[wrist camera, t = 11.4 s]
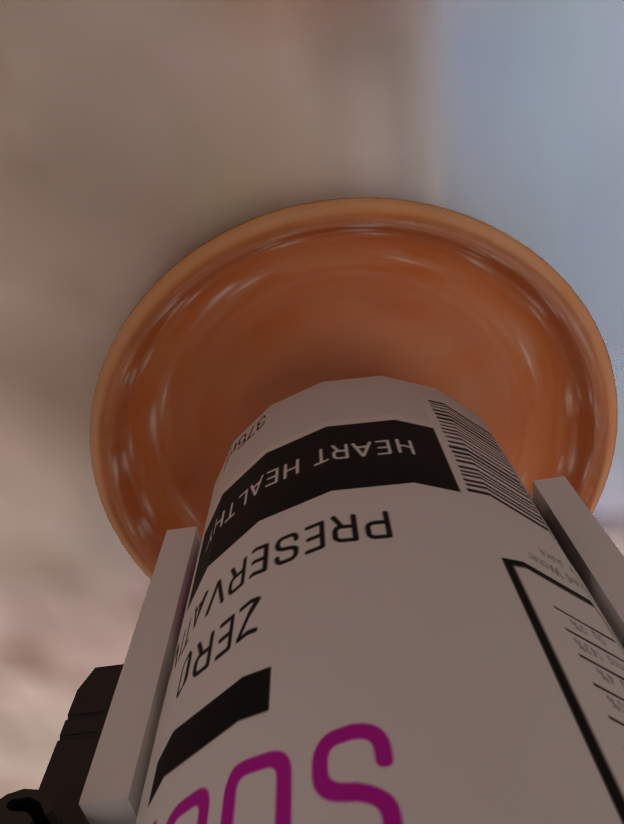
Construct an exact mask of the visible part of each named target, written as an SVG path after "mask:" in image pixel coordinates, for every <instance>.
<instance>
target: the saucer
mask: <svg viewBox="0 0 624 824" xmlns="http://www.w3.org/2000/svg"><path fill="white" fill-rule="evenodd" d="M372 376H385V377H389V378H394V379H398V380H403V381H407V382H412V383H416V384H420V385H425V386H429V387H434V388H437V389H438V390H440V391H441V392H443V393H444V394H446V395H448V396H449V397H451V398H452V399H454V400H455V401H457V402H458V403H460V404H461V405H463V406H465V407H466V408H468V409H469V410H471V411H472V412H474V413H475V414H477V415H478V416H480V417H481V419H482V420H483V422H484V423H485V425H486V426H487V428H488V429H489V431H490V432H491V434H492V435H493V437H494V438H495V440H496V441H497V443H498V444H499V445H500V447H501V448H502V450H503V451H504V453H505V454H506V456H507V457H508V459H509V461H510V462H511V464H512V466H513V467H514V469H515V471H516V472H517V474H518V476H519V477H520V479H521V480H522V482H523V484H524V485H525V487H526V489H527V490H528V492H529V494H530V495H531V497H532V494H533V480H541V479H548V478H555V477H563V476H565V478H566V479H567V480H568V482H569V483H570V484H571V486H572V487H573V488H574V490H575V491H576V492H577V494H578V495H579V497H580V498H581V499H582V501H583V502H584V503H585V505H586V506H587V507H588V509H589V510H590V512H591V513H593V511H594V509H595V507H596V505H597V503H598V500H599V498H600V496H601V494H602V491H603V489H604V486H605V483H606V480H607V477H608V474H609V471H610V467H611V463H612V459H613V455H614V450H615V443H616V436H617V415H618V408H617V393H616V385H615V379H614V374H613V370H612V365H611V361H610V357H609V354H608V351H607V348H606V346H605V343H604V341H603V338H602V336H601V334H600V332H599V330H598V328H597V326H596V324H595V322H594V320H593V318H592V317H591V315H590V313H589V311H588V310H587V308H586V307H585V305H584V304H583V302H582V301H581V299H580V298H579V297H578V296H577V294H576V293H575V292H574V290H573V289H572V288H571V286H570V285H569V284H568V283H567V282H566V281H565V280H564V279H563V278H562V277H561V276H560V275H559V274H558V273H557V271H555V270H554V269H553V268H552V267H551V266H550V265H549V264H548V263H547V262H546V261H544V260H543V259H542V258H541V257H540V256H538V255H537V254H536V253H534V252H533V251H532V250H530V249H529V248H528V247H526V246H525V245H523V244H522V243H520V242H519V241H517V240H515V239H514V238H512V237H510V236H509V235H507V234H505V233H504V232H502V231H500V230H498V229H496V228H494V227H492V226H490V225H488V224H486V223H484V222H482V221H479V220H477V219H474V218H472V217H469V216H467V215H464V214H461V213H458V212H455V211H452V210H448V209H445V208H441V207H438V206H434V205H430V204H424V203H419V202H413V201H407V200H399V199H389V198H343V199H333V200H323V201H317V202H311V203H306V204H300V205H296V206H292V207H288V208H284V209H281V210H278V211H275V212H272V213H269V214H266V215H262V216H259V217H257V218H254V219H252V220H250V221H248V222H245V223H243V224H241V225H239V226H236V227H234V228H232V229H230V230H228V231H226V232H224V233H222V234H221V235H219V236H217V237H216V238H214V239H212V240H210V241H209V242H207V243H205V244H204V245H202V246H201V247H199V248H198V249H196V250H195V251H193V252H192V253H191V254H189V255H188V256H186V257H185V258H184V259H182V260H181V261H180V262H179V263H178V264H177V265H175V266H174V267H173V268H172V269H171V270H169V271H168V272H167V273H166V274H165V275H164V276H163V277H162V278H161V279H160V280H158V281H157V283H156V284H155V285H154V286H153V287H152V288H151V289H150V290H149V291H148V292H147V293H146V295H145V296H144V297H143V298H142V300H141V301H140V302H139V304H138V305H137V306H136V307H135V309H134V310H133V311H132V313H131V314H130V316H129V317H128V319H127V320H126V321H125V323H124V324H123V326H122V327H121V329H120V331H119V333H118V335H117V337H116V338H115V340H114V342H113V344H112V346H111V348H110V350H109V352H108V355H107V357H106V359H105V361H104V364H103V367H102V370H101V372H100V376H99V379H98V383H97V386H96V390H95V394H94V400H93V405H92V412H91V421H90V447H91V458H92V466H93V471H94V476H95V481H96V485H97V488H98V492H99V495H100V498H101V502H102V504H103V506H104V509H105V511H106V514H107V516H108V519H109V521H110V523H111V525H112V527H113V529H114V530H115V532H116V534H117V536H118V537H119V539H120V541H121V542H122V544H123V545H124V547H125V549H126V550H127V551H128V553H129V554H130V555H131V557H132V558H133V560H134V561H135V562H136V563H137V565H138V566H139V567H140V568H141V569H142V571H143V572H144V573H145V574H146V575H147V576H148V577H149V578H150V579H151V578H152V575H153V572H154V569H155V566H156V563H157V560H158V557H159V554H160V551H161V547H162V544H163V541H164V538H165V535H166V532H167V530H173V529H180V528H188V527H195V526H197V528H198V532H199V535H200V538H201V541H202V537H203V533H204V529H205V524H206V520H207V516H208V511H209V507H210V503H211V499H212V494H213V490H214V486H215V483H216V481H217V478H218V476H219V474H220V472H221V469H222V467H223V465H224V463H225V460H226V458H227V456H228V453H229V451H230V449H231V447H232V444H233V442H234V441H235V440H236V439H237V438H238V437H239V436H240V435H241V434H242V433H243V432H244V431H245V430H246V429H247V428H248V427H249V426H250V425H251V424H252V423H253V422H254V421H255V420H256V419H257V418H258V417H259V416H260V415H262V414H263V413H264V412H265V411H266V410H267V409H268V408H269V407H270V406H271V405H273V404H275V403H277V402H279V401H281V400H284V399H286V398H288V397H290V396H292V395H295V394H297V393H299V392H301V391H303V390H306V389H308V388H310V387H312V386H314V385H316V384H319V383H321V382H325V381H334V380H344V379H353V378H363V377H372Z"/></svg>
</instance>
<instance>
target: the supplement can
mask: <svg viewBox="0 0 624 824" xmlns="http://www.w3.org/2000/svg"><path fill="white" fill-rule="evenodd" d="M135 824H624V648H623V646H622V645H621V643H620V641H619V640H618V638H617V636H616V635H615V633H614V631H613V630H612V628H611V626H610V625H609V623H608V622H607V620H606V618H605V617H604V615H603V613H602V612H601V610H600V608H599V607H598V605H597V603H596V602H595V600H594V599H593V597H592V595H591V594H590V592H589V590H588V589H587V587H586V585H585V584H584V582H583V581H582V579H581V577H580V576H579V574H578V572H577V571H576V569H575V567H574V566H573V564H572V562H571V561H570V559H569V558H568V556H567V554H566V553H565V551H564V549H563V548H562V546H561V544H560V543H559V541H558V540H557V538H556V536H555V535H554V533H553V531H552V530H551V528H550V526H549V525H548V523H547V521H546V520H545V518H544V517H543V515H542V513H541V512H540V510H539V508H538V507H537V505H536V503H535V502H534V500H533V498H532V497H531V495H530V494H529V492H528V490H527V489H526V487H525V485H524V484H523V482H522V480H521V479H520V477H519V476H518V474H517V472H516V471H515V469H514V467H513V466H512V464H511V462H510V461H509V459H508V457H507V456H506V454H505V453H504V451H503V450H502V448H501V447H500V445H499V444H498V443H497V441H496V440H495V438H494V437H493V435H492V434H491V432H490V431H489V429H488V428H487V426H486V425H485V423H484V422H483V420H482V419H481V417H480V416H478V415H477V414H475V413H474V412H472V411H471V410H469V409H468V408H466V407H465V406H463V405H461V404H460V403H458V402H457V401H455V400H454V399H452V398H451V397H449V396H448V395H446V394H444V393H443V392H441V391H440V390H438V389H437V388H434V387H429V386H425V385H420V384H416V383H412V382H407V381H403V380H398V379H394V378H389V377H385V376H372V377H363V378H353V379H344V380H334V381H325V382H321V383H319V384H316V385H314V386H312V387H310V388H308V389H306V390H303V391H301V392H299V393H297V394H295V395H292V396H290V397H288V398H286V399H284V400H281V401H279V402H277V403H275V404H273V405H271V406H270V407H269V408H268V409H267V410H266V411H265V412H264V413H263V414H262V415H260V416H259V417H258V418H257V419H256V420H255V421H254V422H253V423H252V424H251V425H250V426H249V427H248V428H247V429H246V430H245V431H244V432H243V433H242V434H241V435H240V436H239V437H238V438H237V439H236V440H235V441H234V442H233V444H232V447H231V449H230V451H229V453H228V456H227V458H226V460H225V463H224V465H223V467H222V469H221V472H220V474H219V476H218V478H217V481H216V483H215V486H214V490H213V494H212V499H211V503H210V507H209V511H208V516H207V520H206V524H205V529H204V533H203V537H202V541H201V546H200V550H199V554H198V558H197V563H196V567H195V571H194V575H193V580H192V584H191V588H190V592H189V597H188V601H187V605H186V610H185V614H184V618H183V622H182V627H181V631H180V635H179V639H178V644H177V648H176V652H175V656H174V661H173V665H172V669H171V674H170V678H169V682H168V686H167V691H166V695H165V699H164V703H163V708H162V712H161V716H160V720H159V725H158V729H157V733H156V738H155V742H154V746H153V750H152V755H151V759H150V763H149V767H148V772H147V776H146V780H145V784H144V789H143V793H142V797H141V801H140V806H139V810H138V814H137V819H136V823H135Z"/></svg>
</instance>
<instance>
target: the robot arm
mask: <svg viewBox="0 0 624 824" xmlns="http://www.w3.org/2000/svg"><path fill="white" fill-rule="evenodd" d="M532 498H533V500H534V502H535V503H536V505H537V507H538V508H539V510H540V512H541V513H542V515H543V517H544V518H545V520H546V521H547V523H548V525H549V526H550V528H551V530H552V531H553V533H554V535H555V536H556V538H557V540H558V541H559V543H560V544H561V546H562V548H563V549H564V551H565V553H566V554H567V556H568V558H569V559H570V561H571V562H572V564H573V566H574V567H575V569H576V571H577V572H578V574H579V576H580V577H581V579H582V581H583V582H584V584H585V585H586V587H587V589H588V590H589V592H590V594H591V595H592V597H593V599H594V600H595V602H596V603H597V605H598V607H599V608H600V610H601V612H602V613H603V615H604V617H605V618H606V620H607V622H608V623H609V625H610V626H611V628H612V630H613V631H614V633H615V635H616V636H617V638H618V640H619V641H620V643H621V645H622V646H623V648H624V556H623V555H622V554H621V552H620V551H619V550H618V548H617V547H616V545H615V544H614V543H613V541H612V540H611V539H610V537H609V536H608V535H607V533H606V532H605V531H604V529H603V528H602V526H601V525H600V524H599V522H598V521H597V520H596V518H595V517H594V516H593V514H592V513H591V512H590V510H589V509H588V507H587V506H586V505H585V503H584V502H583V501H582V499H581V498H580V497H579V495H578V494H577V492H576V491H575V490H574V488H573V487H572V486H571V484H570V483H569V482H568V480H567V479H566V478H565V476H563V477H555V478H548V479H541V480H533V494H532ZM200 546H201V538H200V535H199V532H198V528H197V526H195V527H188V528H180V529H173V530H167V532H166V535H165V538H164V541H163V544H162V547H161V551H160V554H159V557H158V560H157V563H156V566H155V569H154V572H153V575H152V578H151V581H150V585H149V588H148V591H147V594H146V597H145V600H144V603H143V606H142V609H141V612H140V615H139V619H138V622H137V625H136V628H135V631H134V634H133V637H132V640H131V643H130V646H129V649H128V653H127V656H126V659H125V662H124V664H122V665H114V666H106V667H98V668H95V669H94V670H93V671H92V673H91V674H90V675H89V676H88V678H87V679H86V680H85V681H84V683H83V684H82V685H81V686H80V688H79V689H78V690H77V693H76V695H75V698H74V700H73V703H72V705H71V708H70V711H69V713H68V720H66V721H65V723H64V726H63V728H62V731H61V734H60V740H59V741H57V744H56V746H55V749H54V752H53V754H52V757H51V759H50V762H49V764H48V767H47V770H46V772H45V775H44V777H43V780H42V782H41V785H40V787H39V790H33V789H22V790H19V791H16V792H13V793H10V794H7V795H6V796H4V797H3V798H1V799H0V824H135V823H136V819H137V814H138V810H139V806H140V801H141V797H142V793H143V789H144V784H145V780H146V776H147V772H148V767H149V763H150V759H151V755H152V750H153V746H154V742H155V738H156V733H157V729H158V725H159V720H160V716H161V712H162V708H163V703H164V699H165V695H166V691H167V686H168V682H169V678H170V674H171V669H172V665H173V661H174V656H175V652H176V648H177V644H178V639H179V635H180V631H181V627H182V622H183V618H184V614H185V610H186V605H187V601H188V597H189V592H190V588H191V584H192V580H193V575H194V571H195V567H196V563H197V558H198V554H199V550H200Z"/></svg>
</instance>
